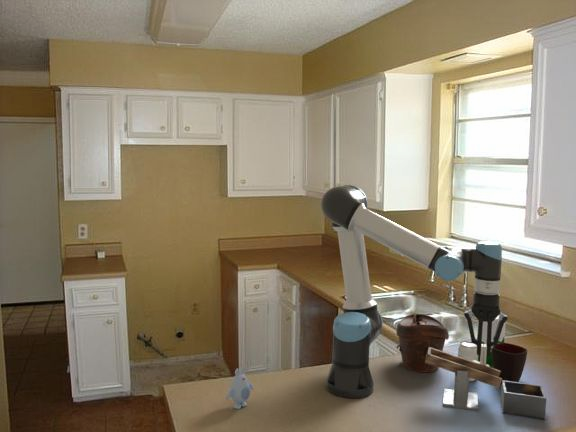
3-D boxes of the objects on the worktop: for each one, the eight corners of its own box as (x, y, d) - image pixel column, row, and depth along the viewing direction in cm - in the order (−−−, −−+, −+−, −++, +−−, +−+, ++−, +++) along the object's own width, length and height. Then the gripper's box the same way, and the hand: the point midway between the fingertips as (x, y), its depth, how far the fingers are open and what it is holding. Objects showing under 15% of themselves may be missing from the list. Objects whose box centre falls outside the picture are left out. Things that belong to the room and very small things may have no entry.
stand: (443, 405, 164) (445, 369, 162) (444, 390, 174) (445, 357, 173) (478, 411, 161) (480, 374, 159) (477, 395, 171) (479, 361, 170)
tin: (502, 413, 159) (504, 392, 159) (500, 400, 168) (502, 380, 167) (544, 419, 156) (546, 398, 155) (540, 406, 165) (541, 385, 164)
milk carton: (483, 356, 206) (487, 304, 203) (506, 363, 199) (510, 309, 197) (471, 361, 200) (474, 308, 198) (494, 369, 193) (498, 314, 191)
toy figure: (233, 416, 154) (233, 375, 153) (219, 408, 158) (219, 369, 157) (260, 404, 162) (260, 365, 160) (246, 397, 166) (246, 359, 165)
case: (416, 351, 208) (418, 306, 206) (458, 369, 192) (461, 320, 190) (382, 361, 199) (383, 313, 196) (423, 381, 182) (425, 329, 180)
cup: (485, 381, 182) (487, 347, 181) (507, 372, 191) (509, 339, 189) (513, 392, 174) (515, 356, 173) (535, 381, 183) (537, 347, 181)
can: (461, 372, 189) (463, 339, 188) (479, 377, 185) (481, 343, 184) (453, 378, 184) (455, 344, 183) (472, 383, 180) (474, 348, 179)
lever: (425, 362, 166) (427, 354, 165) (427, 347, 179) (430, 339, 179) (499, 387, 160) (502, 379, 160) (496, 370, 173) (498, 362, 173)
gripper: (464, 293, 167) (460, 367, 169) (510, 296, 163) (506, 372, 165) (464, 287, 174) (460, 358, 176) (508, 291, 170) (504, 363, 172)
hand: (482, 365), depth 171 cm, fingers closed
